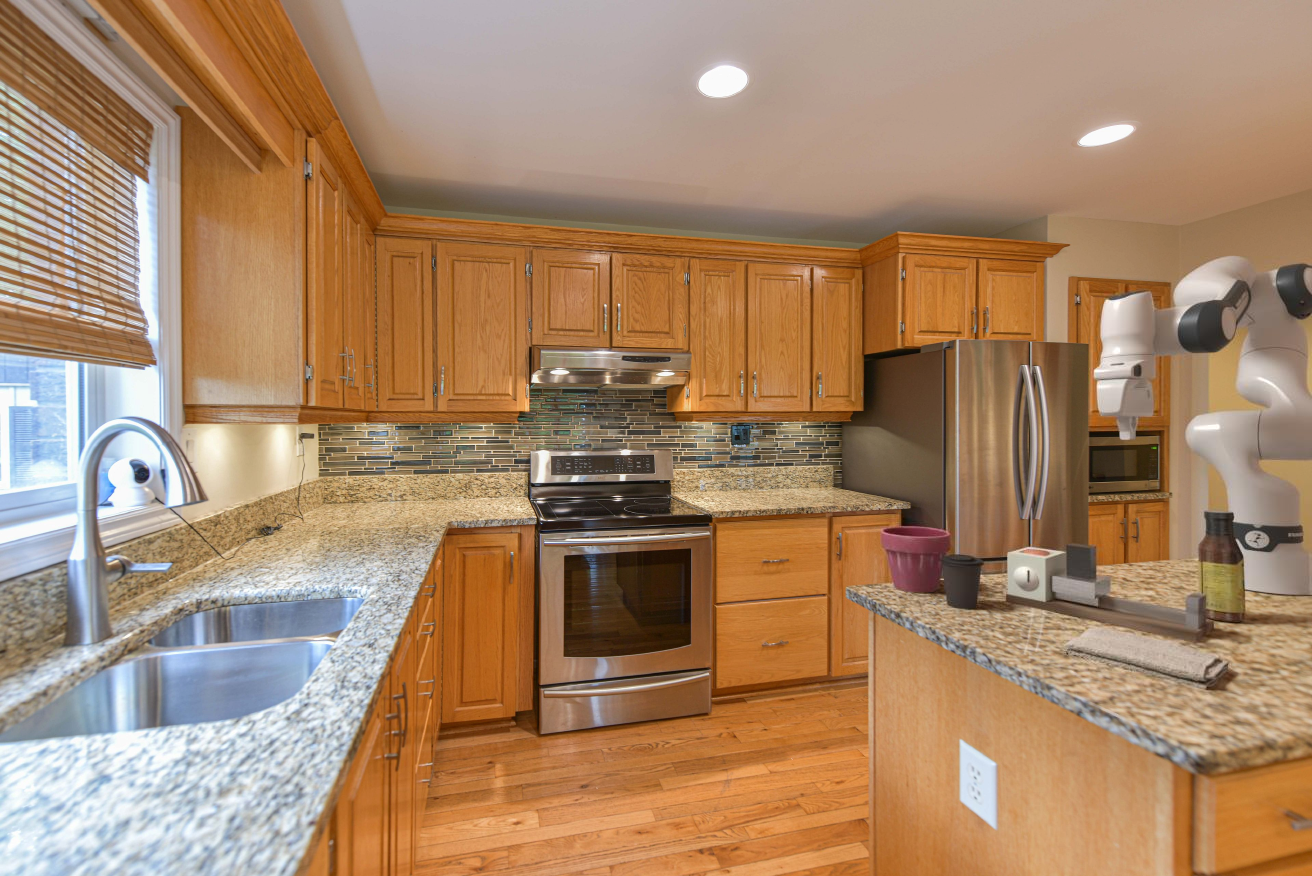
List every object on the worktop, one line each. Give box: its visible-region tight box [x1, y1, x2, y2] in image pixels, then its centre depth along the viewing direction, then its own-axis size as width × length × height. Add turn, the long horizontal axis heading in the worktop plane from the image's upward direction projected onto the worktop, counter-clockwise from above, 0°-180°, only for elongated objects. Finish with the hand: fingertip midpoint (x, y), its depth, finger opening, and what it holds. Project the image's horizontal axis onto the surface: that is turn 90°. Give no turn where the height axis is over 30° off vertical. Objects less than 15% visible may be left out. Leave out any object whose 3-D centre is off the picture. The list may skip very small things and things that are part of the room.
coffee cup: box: [939, 553, 985, 610], centre depth 120 cm, size 8×8×10 cm
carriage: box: [1052, 542, 1111, 606], centre depth 116 cm, size 8×7×11 cm
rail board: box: [1005, 592, 1215, 643], centre depth 113 cm, size 11×30×6 cm, turn 36°
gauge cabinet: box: [1006, 546, 1066, 602], centre depth 122 cm, size 10×7×10 cm
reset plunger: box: [1024, 549, 1050, 556], centre depth 122 cm, size 4×4×6 cm
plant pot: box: [880, 525, 951, 594], centre depth 133 cm, size 14×14×13 cm
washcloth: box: [1063, 626, 1230, 691], centre depth 91 cm, size 12×18×3 cm, turn 37°
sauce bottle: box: [1197, 509, 1247, 623], centre depth 110 cm, size 7×6×20 cm
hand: (1127, 439), depth 121 cm, fingers closed
